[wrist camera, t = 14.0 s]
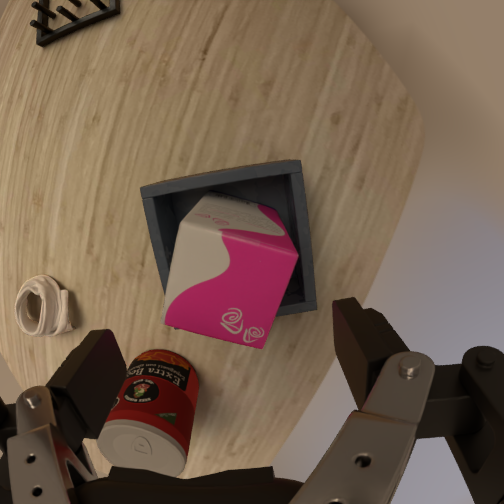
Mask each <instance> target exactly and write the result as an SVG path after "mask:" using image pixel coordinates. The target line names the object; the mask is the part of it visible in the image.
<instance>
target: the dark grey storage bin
mask: <svg viewBox="0 0 504 504" xmlns="http://www.w3.org/2000/svg"><path fill="white" fill-rule="evenodd" d="M209 190H213V191H217V192H221V193H225V194H229V195H232V196H236V197H239V198H243V199H246V200H250V201H253V202H257V203H260V204H263V205H266V206H269V207H272V208H274V209H276V210H277V212H278V214H279V217H280V219H281V221H282V223H283V224H284V227H285V229H286V230H287V233H288V235H289V237H290V239H291V241H292V243H293V245H294V247H295V249H296V251H297V253H298V255H299V257H298V259H297V262H296V265H295V268H294V270H293V273H292V275H291V278H290V281H289V284H288V286H287V288H286V291H285V294H284V296H283V299H282V301H281V304H280V306H279V309H278V311H277V314H276V316H275V317H277V316H283V315H289V314H296V313H302V312H308V311H313V310H317V302H316V289H315V278H314V267H313V257H312V247H311V238H310V229H309V220H308V211H307V203H306V195H305V187H304V180H303V173H302V165H301V160H290V159H288V160H281V161H273V162H266V163H259V164H253V165H246V166H240V167H234V168H228V169H222V170H216V171H210V172H205V173H199V174H194V175H189V176H184V177H179V178H174V179H169V180H164V181H160V182H156V183H153V184H150V185H146V186H143V187H140V191H141V196H142V199H143V200H142V201H143V206H144V211H145V215H146V220H147V225H148V229H149V234H150V238H151V242H152V247H153V251H154V255H155V259H156V263H157V267H158V271H159V275H160V279H161V283H162V287H163V290H164V294H166V288H167V283H168V277H169V272H170V267H171V262H172V257H173V252H174V248H175V243H176V238H177V234H178V230H179V225H180V222H181V221H182V220H183V219H184V218H185V216H186V215H187V214H188V213H189V212H190V211H191V210H192V209H193V208H194V206H195V205H196V204H197V203H198V202H199V201H200V200H201V198H202V197H203V196H204V195H205V194H206V193H207V192H208V191H209ZM174 329H175V330H176V329H179V328H175V327H174Z"/></svg>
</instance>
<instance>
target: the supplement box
mask: <svg viewBox="0 0 504 504" xmlns="http://www.w3.org/2000/svg"><path fill="white" fill-rule="evenodd" d="M298 257H299V255H298V253H297V251H296V249H295V247H294V245H293V243H292V241H291V239H290V237H289V235H288V233H287V230H286V229H285V227H284V224H283V223H282V221H281V219H280V217H279V214H278V212H277V210H276V209H274V208H272V207H269V206H266V205H263V204H260V203H257V202H253V201H250V200H246V199H243V198H239V197H236V196H232V195H229V194H225V193H221V192H217V191H213V190H209V191H208V192H207V193H206V194H205V195H204V196H203V197H202V198H201V200H200V201H199V202H198V203H197V204H196V205H195V206H194V208H193V209H192V210H191V211H190V212H189V213H188V214H187V215H186V216H185V218H184V219H183V220H182V221H181V222H180V225H179V230H178V234H177V238H176V243H175V248H174V252H173V257H172V262H171V267H170V272H169V277H168V283H167V288H166V294H165V300H164V306H163V312H162V317H161V323H162V324H164V325H168V326H171V327H175V328H179V329H182V330H186V331H189V332H193V333H197V334H201V335H205V336H208V337H212V338H216V339H221V340H224V341H229V342H233V343H237V344H241V345H245V346H249V347H254V348H258V349H263V347H264V345H265V342H266V340H267V337H268V334H269V332H270V329H271V326H272V324H273V321H274V319H275V316H276V314H277V311H278V309H279V306H280V304H281V301H282V299H283V296H284V294H285V291H286V288H287V286H288V284H289V281H290V278H291V275H292V273H293V270H294V268H295V265H296V262H297V259H298Z"/></svg>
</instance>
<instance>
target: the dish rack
mask: <svg viewBox="0 0 504 504" xmlns="http://www.w3.org/2000/svg"><path fill="white" fill-rule="evenodd" d="M69 1H70V2H71V3H73V4H74V5H75V6H76V7H79V6H80V5H81V2H80V1H79V0H69ZM90 1H91V2H92V3H93V4H95V5H96V6H97V7H98V8H99V9H100V10H99V11H97V12H94V13H92V14H89V15H87V16H85V17H82V18H80V19H79V18H78V17H76V16H75V15H74V14H72V13H71V12H70V11H68V10H67V9H65V8H64V7H62V6H58V7H57V9H56V11H57V12H59V13H60V14H62V15H64V16H65V17H66V18H68V19H69V20H71V21H72V22H71V23H69V24H67V25H64V26H62V27H60V28H58V29H56V30H52V29H50V28H48V27H47V23H48V16H49V17H50V18H52V19H54V18H55V17H56V14H55V13H54V12H52V11H50V10H49V9H48V7H49V0H39V3H38V2H33V3H32V5H31V6H32V7H33V8H35V9H37V10H38V19H37V21H36V20H32V21H31V22H30V25H31V26H33V27H35V28H37V38H36V44H37V45H39V46H41V47H43V46H45V45H47V44H49V43H51V42H53V41H55V40H57V39H59V38H61V37H64V36H66V35H68V34H70V33H72V32H75V31H77V30H79V29H81V28H84V27H86V26H89V25H91V24H93V23H96V22H99V21H101V20H104V19H106V18H109V17H112V16H115V15H117V14H120V0H110V7H107V6H106V5H105V4H103V3H102V2H101V1H100V0H90Z"/></svg>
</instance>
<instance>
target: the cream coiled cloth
mask: <svg viewBox="0 0 504 504" xmlns="http://www.w3.org/2000/svg"><path fill="white" fill-rule="evenodd" d="M31 292H33V293H34V294H36V295H40V297H41V299H42V306H41V313H40V320H39V322H37V321H34V320H31V319H30V318H29V317H28V315H27V303H28V299H27V296H28V294H29V293H31ZM15 318H16V321H17V323H18V325H19V327H20V328H21V330H22V331H23V332H24V333H26V334H27V335H30V336H35V337H42V336H44V335H45V336H49V337H53V336H55V335H58V334H60V333H64V332H67V331H71V330H74V329H75V326H72V327H71V325H70V322H69V312H68V291H67V290H60V288H59V286H58V284H57V282H56V281H55V280H53V279H52V278H51V277H49V276H47V275H37V276H34V277H32V278H31V279H28V280H26V281H25V282H24V283H23V285H22V287H21V289H20V290H19V292H18V295H17V299H16V301H15Z"/></svg>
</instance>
